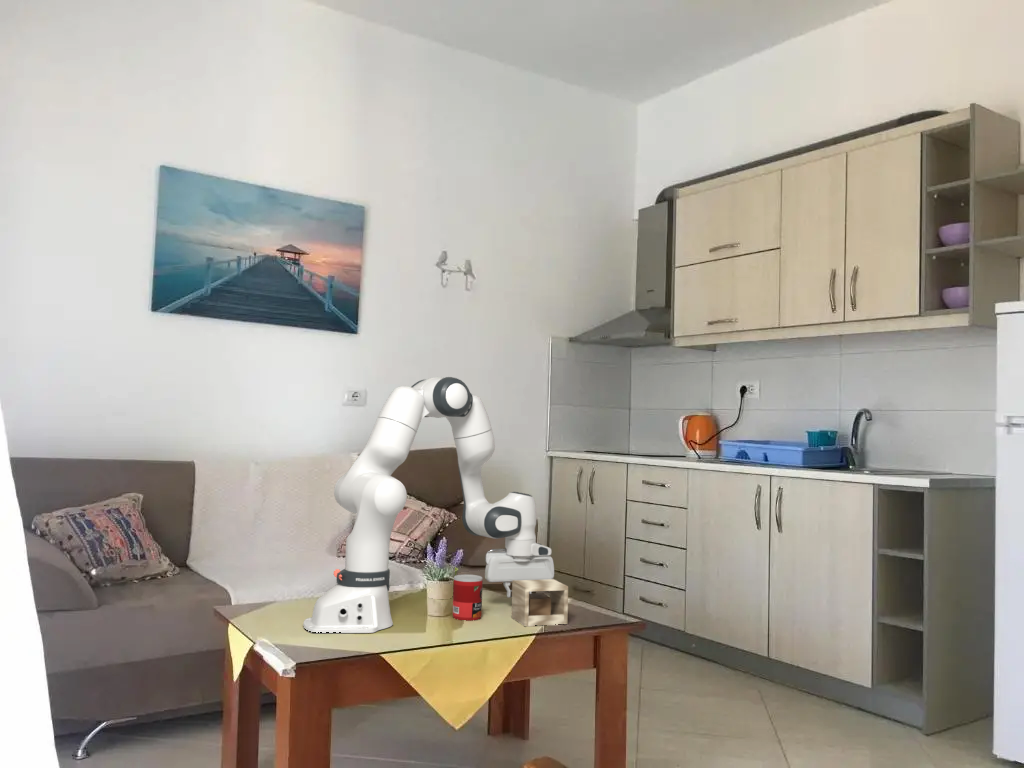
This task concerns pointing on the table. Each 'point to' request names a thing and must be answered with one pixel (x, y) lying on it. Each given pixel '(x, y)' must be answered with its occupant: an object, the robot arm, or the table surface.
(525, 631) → the table surface
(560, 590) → the oak cubby
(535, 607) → the partly hidden dark block
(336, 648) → the table surface
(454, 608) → the canned food
